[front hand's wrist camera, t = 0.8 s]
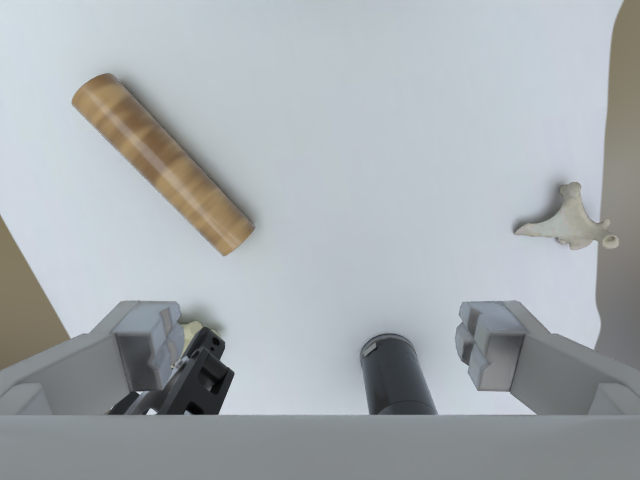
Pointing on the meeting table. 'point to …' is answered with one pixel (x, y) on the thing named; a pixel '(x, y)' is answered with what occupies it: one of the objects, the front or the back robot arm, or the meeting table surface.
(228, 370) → the back robot arm
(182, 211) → the rod
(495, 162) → the meeting table surface
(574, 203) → the bone
